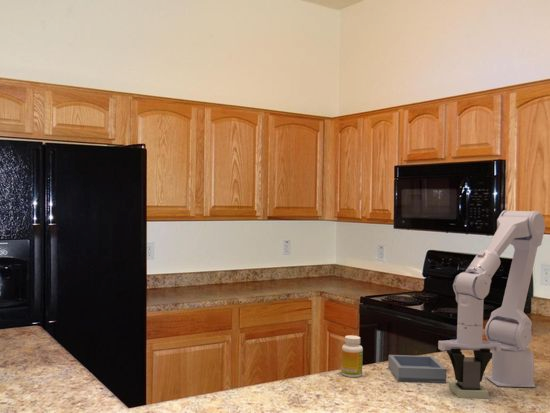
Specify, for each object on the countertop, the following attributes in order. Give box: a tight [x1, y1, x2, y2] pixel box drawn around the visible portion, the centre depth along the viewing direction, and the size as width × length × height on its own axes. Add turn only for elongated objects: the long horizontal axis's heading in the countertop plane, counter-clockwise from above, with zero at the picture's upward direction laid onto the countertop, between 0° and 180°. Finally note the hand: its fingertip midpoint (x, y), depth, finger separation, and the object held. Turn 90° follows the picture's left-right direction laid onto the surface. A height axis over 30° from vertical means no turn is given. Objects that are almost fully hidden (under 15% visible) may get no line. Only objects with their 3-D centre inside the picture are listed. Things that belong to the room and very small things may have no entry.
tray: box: [387, 354, 447, 384], centre depth 144 cm, size 12×12×4 cm
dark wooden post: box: [456, 356, 481, 390], centre depth 131 cm, size 4×4×8 cm
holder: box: [448, 380, 490, 399], centre depth 131 cm, size 7×7×2 cm
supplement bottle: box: [340, 334, 364, 378], centre depth 143 cm, size 5×5×10 cm
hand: (468, 380), depth 131 cm, fingers closed on dark wooden post, 4 cm apart
